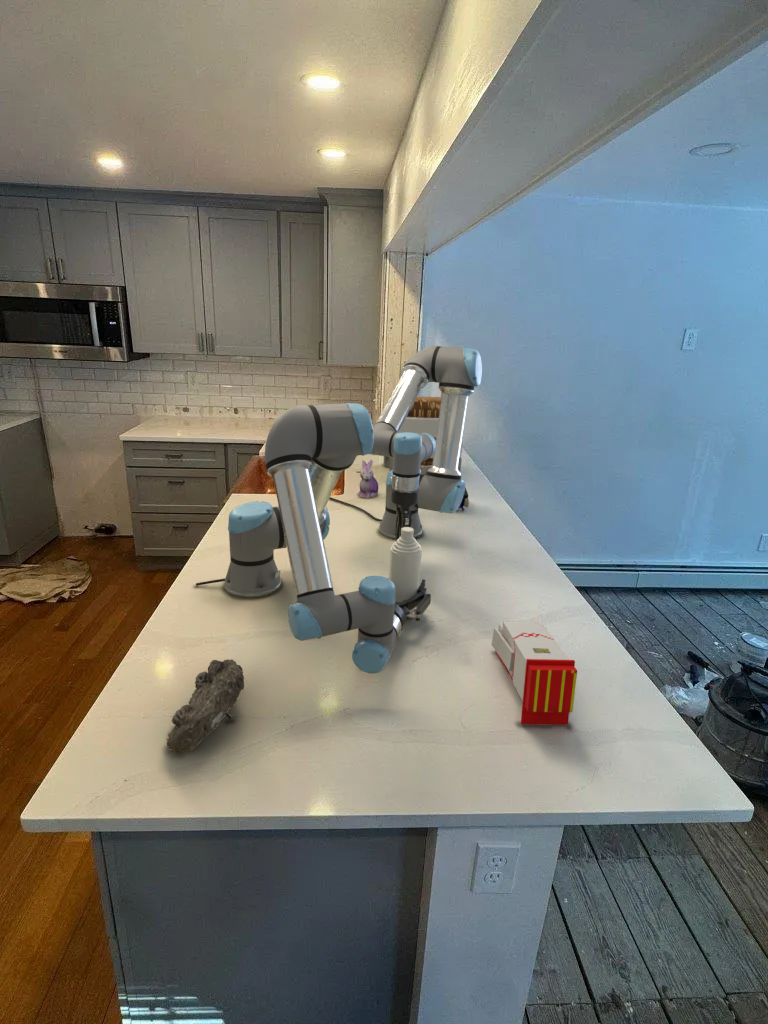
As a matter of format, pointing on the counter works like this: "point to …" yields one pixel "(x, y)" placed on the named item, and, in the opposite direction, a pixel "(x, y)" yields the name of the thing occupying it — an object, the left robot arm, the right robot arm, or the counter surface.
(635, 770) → the counter surface
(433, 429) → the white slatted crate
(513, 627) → the toy
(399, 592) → the bottle
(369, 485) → the figurine
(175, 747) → the fossil
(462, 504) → the figurine character
